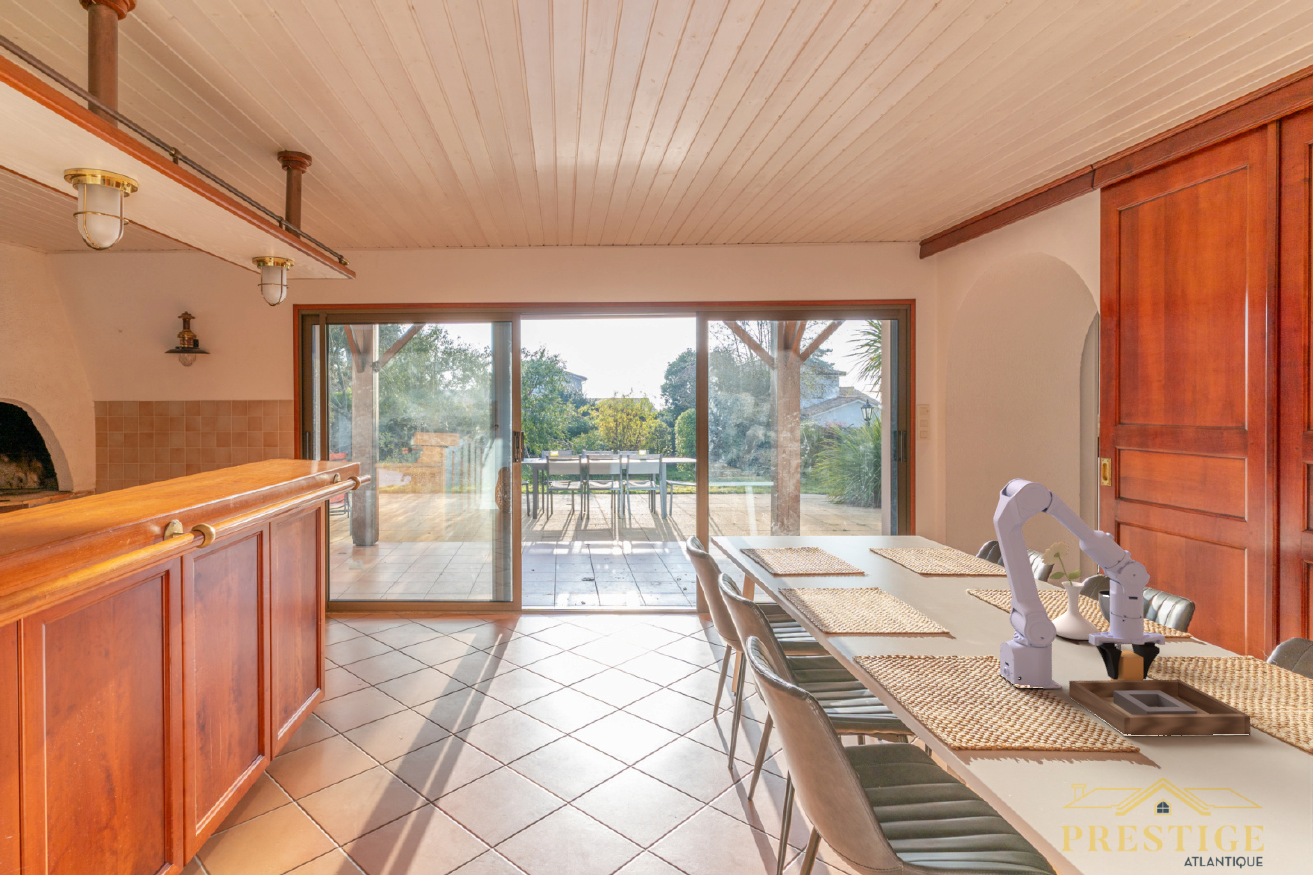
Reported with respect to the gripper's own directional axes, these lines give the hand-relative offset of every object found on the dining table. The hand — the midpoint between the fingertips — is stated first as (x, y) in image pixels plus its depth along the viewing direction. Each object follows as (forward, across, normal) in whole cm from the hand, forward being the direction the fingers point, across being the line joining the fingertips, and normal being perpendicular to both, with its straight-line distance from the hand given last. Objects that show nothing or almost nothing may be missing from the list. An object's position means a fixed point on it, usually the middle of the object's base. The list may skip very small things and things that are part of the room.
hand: (1126, 677), depth 134 cm
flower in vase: (+2, +7, +31) cm, 32 cm away
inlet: (+2, -4, -13) cm, 14 cm away
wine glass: (+2, +10, +17) cm, 20 cm away
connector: (+2, 0, 0) cm, 2 cm away
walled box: (+2, -4, -13) cm, 14 cm away
